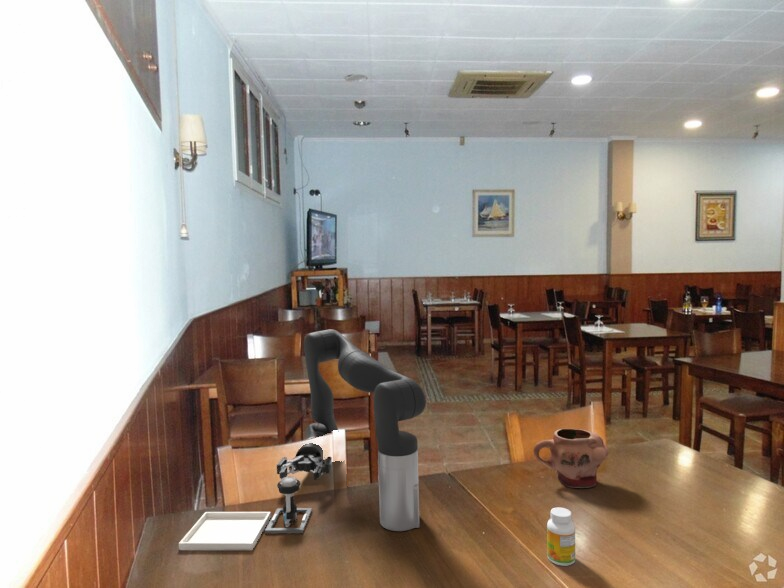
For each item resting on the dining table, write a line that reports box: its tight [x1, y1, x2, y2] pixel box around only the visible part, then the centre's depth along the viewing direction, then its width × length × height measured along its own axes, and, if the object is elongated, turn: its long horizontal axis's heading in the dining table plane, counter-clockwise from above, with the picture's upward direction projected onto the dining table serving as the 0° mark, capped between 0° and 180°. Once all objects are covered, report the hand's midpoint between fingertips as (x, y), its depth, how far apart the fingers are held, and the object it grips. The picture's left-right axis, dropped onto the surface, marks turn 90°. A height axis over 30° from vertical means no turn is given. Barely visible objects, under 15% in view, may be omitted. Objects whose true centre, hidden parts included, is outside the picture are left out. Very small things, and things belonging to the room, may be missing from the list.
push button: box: [276, 475, 301, 528], centre depth 119 cm, size 7×5×10 cm
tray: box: [178, 511, 272, 551], centre depth 115 cm, size 16×14×2 cm
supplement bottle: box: [546, 506, 576, 567], centre depth 102 cm, size 5×5×10 cm
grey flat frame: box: [264, 507, 313, 535], centre depth 120 cm, size 9×11×1 cm
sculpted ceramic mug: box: [533, 428, 610, 489], centre depth 137 cm, size 20×12×14 cm, turn 95°
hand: (298, 476), depth 130 cm, fingers open, 8 cm apart
